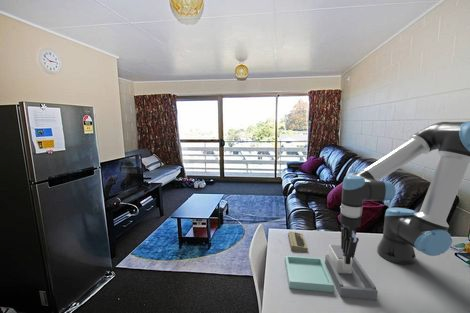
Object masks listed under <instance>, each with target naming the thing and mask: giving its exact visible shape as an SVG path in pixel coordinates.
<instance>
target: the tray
mask: <svg viewBox="0 0 470 313" xmlns="http://www.w3.org/2000/svg"><path fill="white" fill-rule="evenodd" d="M284 264H285V270H286V276H287V281H288V288H289V289H296V290H305V291H306V290H307V291H318V292H327V293H333V292H334V290H335V289H334V287H335V284H334V282H333V280H332V277H331V275H330V273H329V271H328V268H327V266H326V264H325V261H324V260H323V258H322V257H310V256H299V255H284Z"/></svg>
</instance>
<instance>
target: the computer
mask: <svg viewBox="0 0 470 313" xmlns="http://www.w3.org/2000/svg"><path fill="white" fill-rule="evenodd" d="M287 237H288V242H289V243H288V244H289V247H290V251H295V252H307V253H308V250H309V249H308V246H307V243H306V240H305V238H304V234H303V233H301V232H296V231H288V234H287Z"/></svg>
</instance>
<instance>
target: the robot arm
mask: <svg viewBox="0 0 470 313" xmlns="http://www.w3.org/2000/svg"><path fill="white" fill-rule="evenodd" d="M408 138H409V139H408V141H407V140H406V142H404V143H403V144H401V145H400V146H398V147H396V148H394V150H392V151H391V152H389V153H387V154H386V155H384V156H382V157H381V158H380V159H378V160H376V161H375V162H373V163H372V164H370V165H368V166H367V167H365V168H364V169H363V170H361V171H359V172H350V173H349V174H347V175H345V176H344V178H343V180H342V186H341V188H342V190H341V191H342V192H341V204H340V206H339V209H340V215H339V223H340V235H341V236H340V237H341V238H340V246H341V249H343V253H344V254H343V260H342V269H343V270H346V271H350V264H351V259H352V258H354V257H355V253H356V250H357V245H358V242H359V241H360V240H359V237H356V235H357V228H359V227H361V224H362V214H363V204H364V201H365V202H366V201H370V202H371V201H373V202H374V201H377V202H386V201H392V200H393V199H394V198H395V197H396V191H397V190H396V187H395V184H393V183H392V182H391V181H386V180H383V179H384V178H386V177H388V176H389V175H391V174H393V173H394V172H396V171H397V170H398V169H400V168H402V167H403V166H405V165H406V164H408V163H409V162H411V161H413V160H414V159H416V158H417V157H419V156H421V155H424V154H425V155H427V154H428V153H430V152H432V151H436V150H438V151H437V153H438V154H439V156H440V159H439V161H438V164H437V165H436V169H435V171H434V174H433V176H432V179H431V181H430V184H429V186H428V189H427V192H426V194H425V197H424V200H423V202H422V204H421V207H420V210H419V211H417V212H416V210H413V209H411V208H410V209H409V208H404V207H388V208H387V209H386V210H385V214H384V223H383V231H382V232H383V234H382V237H381V240H380V242H379V243H378V245H377V250H376V251H377V254H378V255H379V256H380V257H382V258H383V259H385V260H387V261H389V262H392V263H395V264H400V265H404V266H405V265H413V264H415V262H416V257H417V255H416V253H415V249H416V250H417V251H419V252H421V253H422V254H425V255H426V256H430V257H436V256H440V255H442V254H444V253H446V252H447V251H448V250H449V249H450V248H451V246H452V244H453V239H452V235H451V234H450V233H449V231H448V230H449V228H450V225H449V224H448V222H447V219H448V216H449V214H450V211H451V209H452V207H453V204H454V201H455V199H456V196H457V195H458V191H459V189H460V186H461V184H462V182H463V180H464V177H465V174H466V172H467V169H468V167H469V164H470V121H441V122H436V123H434V124H431V125H428V126H426V127H424V128H422V129H420V130H419V131H417V132H415V133H414V134H412V135H411V136H409V137H408ZM381 180H382V181H381Z"/></svg>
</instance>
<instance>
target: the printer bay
mask: <svg viewBox="0 0 470 313" xmlns="http://www.w3.org/2000/svg"><path fill="white" fill-rule="evenodd" d="M351 259H352V260H353V261H352V270H354V272H355V273H356V275H357V276H358V278H359V279H360V281H361V283H362V285H363V287H361V286H360V287H358V286H347V285H344V282H343V281H342V279H341V277H340V275H339V273H337V271H336V269H335V267H334V265H333V263H332V261H331V259H330V257H329V255H328V254H325V260H324V264H325V266H326V269H327V271H328V273H329V275H330V278H331V280H332V282H333V284H334V287H335V289H336V291H337V293H338V295H339V297H340V298H350V299H351V298H352V299H359V300H360V299H361V300H371V301H373V300H374V301H378V300H377V298H378V289H377V287H376V286H375V283H374V282H373V281H372V279H371V278H370V277H369V275H368V274H367V272H366V271H365V269H364V268H363V267H362V265H361V263H360V261H358V259H357V258H356V257H355V256H354V258H352V257H351Z"/></svg>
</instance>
